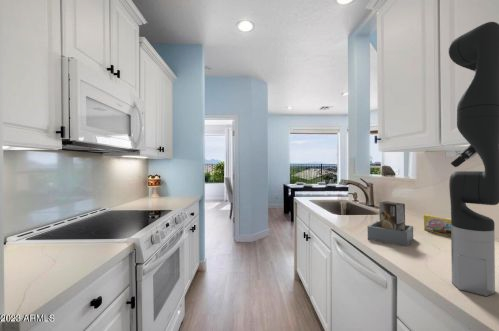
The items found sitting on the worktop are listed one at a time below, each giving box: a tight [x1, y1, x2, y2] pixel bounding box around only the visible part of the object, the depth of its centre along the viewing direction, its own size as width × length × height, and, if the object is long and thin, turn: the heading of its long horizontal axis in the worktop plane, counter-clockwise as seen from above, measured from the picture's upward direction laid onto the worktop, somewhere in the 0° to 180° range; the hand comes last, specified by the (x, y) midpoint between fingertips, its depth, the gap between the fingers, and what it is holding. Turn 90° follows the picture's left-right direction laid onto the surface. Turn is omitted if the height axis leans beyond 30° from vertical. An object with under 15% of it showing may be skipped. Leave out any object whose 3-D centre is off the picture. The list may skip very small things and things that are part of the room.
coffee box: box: [378, 200, 406, 231], centre depth 116 cm, size 9×6×16 cm
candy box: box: [423, 214, 451, 237], centre depth 123 cm, size 16×2×8 cm, turn 21°
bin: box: [367, 220, 414, 247], centre depth 116 cm, size 14×16×6 cm
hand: (453, 165), depth 95 cm, fingers open, 8 cm apart
